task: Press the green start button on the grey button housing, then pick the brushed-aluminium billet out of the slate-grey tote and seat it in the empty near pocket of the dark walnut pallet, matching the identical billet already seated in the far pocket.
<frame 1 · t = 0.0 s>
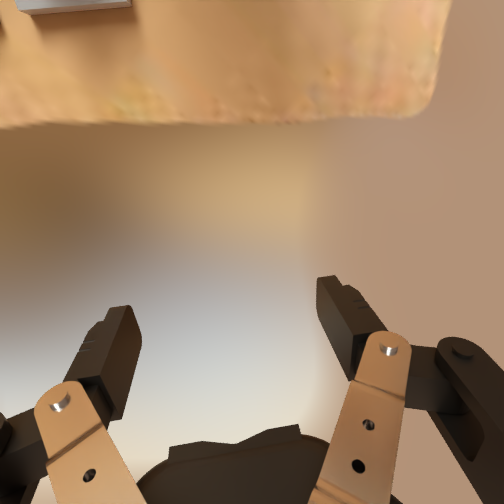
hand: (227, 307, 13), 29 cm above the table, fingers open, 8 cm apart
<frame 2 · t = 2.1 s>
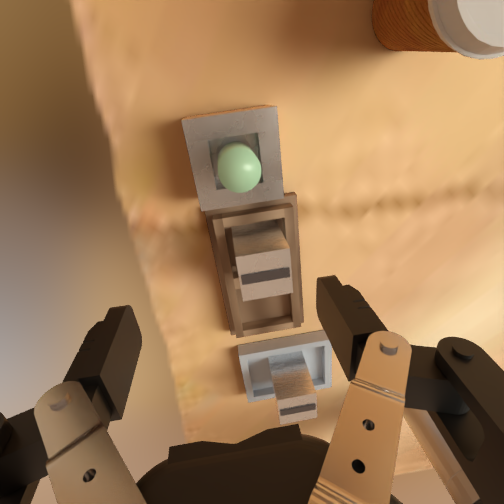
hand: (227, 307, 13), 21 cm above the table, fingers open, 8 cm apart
grey button housing: (233, 153, 30), on the table
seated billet: (256, 243, 34), point 1 cm above the table, touching pallet
billet: (286, 365, 45), point 1 cm above the table, touching tote
disposable coffee cup: (404, 9, 27), on the table
pallet: (259, 268, 37), on the table
tote: (285, 361, 45), on the table
start button: (237, 166, 25), point 6 cm above the table, slide at 0.0 cm
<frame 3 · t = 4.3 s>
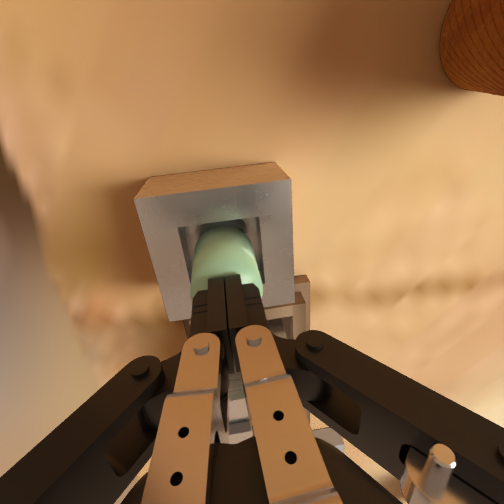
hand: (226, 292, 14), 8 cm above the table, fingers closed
grey button housing: (221, 227, 21), on the table
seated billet: (251, 340, 25), point 1 cm above the table, touching pallet
disposable coffee cup: (489, 29, 17), on the table
pallet: (253, 364, 28), on the table
tote: (283, 460, 36), on the table
start button: (225, 270, 16), point 6 cm above the table, slide at 0.2 cm, touching gripper
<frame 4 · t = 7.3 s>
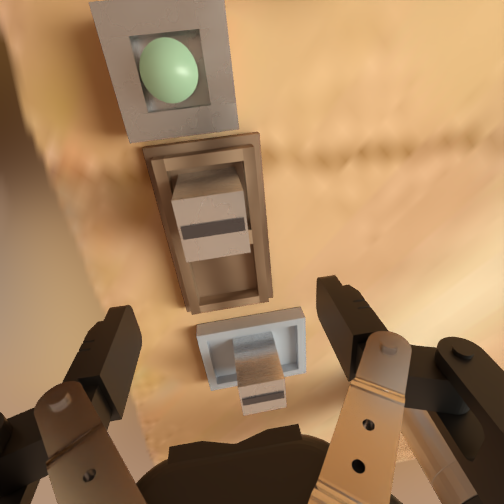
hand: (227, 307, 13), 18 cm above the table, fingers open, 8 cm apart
grey button housing: (177, 74, 24), on the table
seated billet: (211, 197, 28), point 1 cm above the table, touching pallet
billet: (254, 348, 39), point 1 cm above the table, touching tote
pallet: (217, 230, 31), on the table
tote: (253, 344, 39), on the table
start button: (172, 72, 20), point 5 cm above the table, slide at 1.5 cm
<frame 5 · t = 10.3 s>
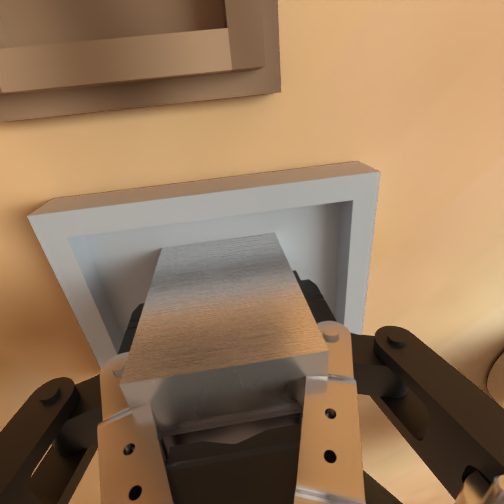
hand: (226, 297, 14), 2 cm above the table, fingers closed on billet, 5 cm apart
billet: (226, 286, 14), point 1 cm above the table, touching gripper, tote
tote: (225, 277, 15), on the table
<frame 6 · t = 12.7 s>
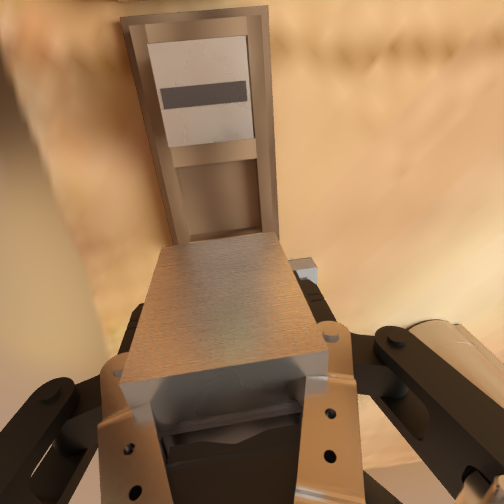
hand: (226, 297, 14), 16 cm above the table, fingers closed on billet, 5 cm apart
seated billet: (206, 94, 23), point 1 cm above the table, touching pallet
billet: (226, 285, 14), point 15 cm above the table, touching gripper
pallet: (214, 147, 25), on the table
tote: (254, 304, 34), on the table
when the fingers open (3 cm above the table, at t = 15.5 s): billet stays where it is, resting on pallet.
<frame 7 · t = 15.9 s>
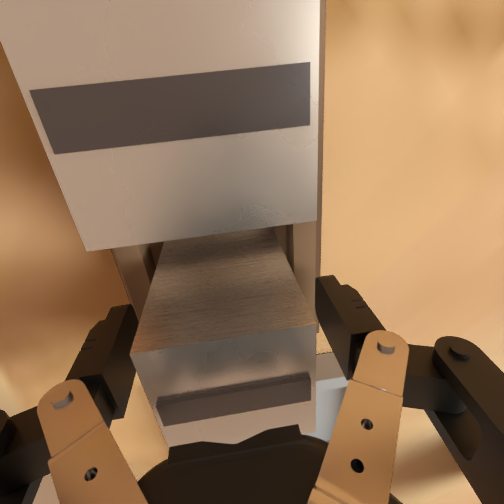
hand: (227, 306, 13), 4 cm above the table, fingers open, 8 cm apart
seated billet: (196, 99, 11), point 1 cm above the table, touching pallet
billet: (225, 275, 15), point 1 cm above the table, touching pallet
pallet: (212, 193, 14), on the table
tote: (274, 408, 22), on the table
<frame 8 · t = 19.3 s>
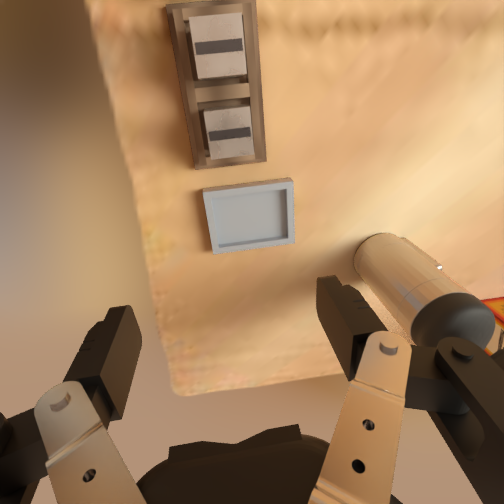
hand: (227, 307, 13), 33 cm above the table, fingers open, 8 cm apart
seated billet: (217, 54, 35), point 1 cm above the table, touching pallet
billet: (226, 127, 39), point 1 cm above the table, touching pallet
pallet: (222, 92, 38), on the table
baking soda box: (484, 315, 64), on the table
tote: (250, 214, 47), on the table
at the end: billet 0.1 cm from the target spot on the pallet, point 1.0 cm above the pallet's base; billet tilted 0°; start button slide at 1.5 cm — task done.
